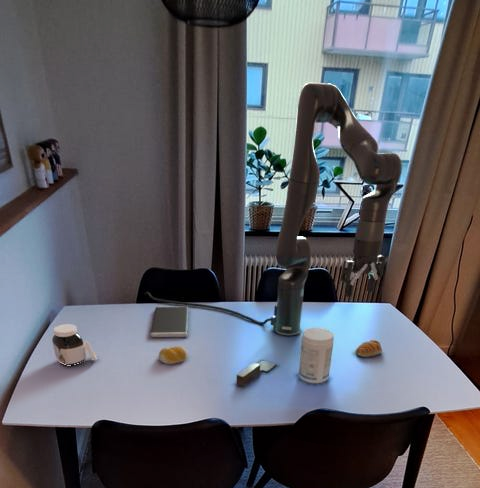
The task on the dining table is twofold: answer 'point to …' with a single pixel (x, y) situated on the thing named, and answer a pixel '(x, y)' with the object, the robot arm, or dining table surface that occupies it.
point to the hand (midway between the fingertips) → (359, 294)
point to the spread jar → (70, 346)
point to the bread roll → (172, 355)
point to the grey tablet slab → (170, 322)
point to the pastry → (369, 348)
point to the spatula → (253, 372)
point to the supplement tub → (315, 355)
